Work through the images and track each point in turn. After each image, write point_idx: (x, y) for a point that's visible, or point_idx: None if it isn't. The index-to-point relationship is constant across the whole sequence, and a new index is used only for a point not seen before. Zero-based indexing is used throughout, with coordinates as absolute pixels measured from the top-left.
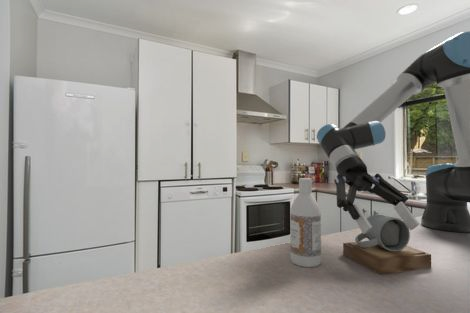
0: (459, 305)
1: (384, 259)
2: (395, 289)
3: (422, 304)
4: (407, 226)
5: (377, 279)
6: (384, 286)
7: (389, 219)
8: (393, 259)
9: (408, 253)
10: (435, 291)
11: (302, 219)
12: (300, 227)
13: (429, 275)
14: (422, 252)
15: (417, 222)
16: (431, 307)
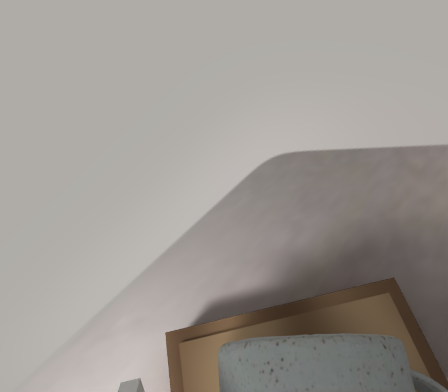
0: (275, 159)
1: (375, 284)
2: (373, 210)
3: (345, 159)
4: (227, 343)
5: (401, 260)
6: (395, 223)
7: (348, 334)
8: (336, 292)
9: (254, 331)
10: (281, 203)
11: None
12: None
13: (229, 284)
14: (191, 340)
15: (128, 387)
16: (334, 152)
